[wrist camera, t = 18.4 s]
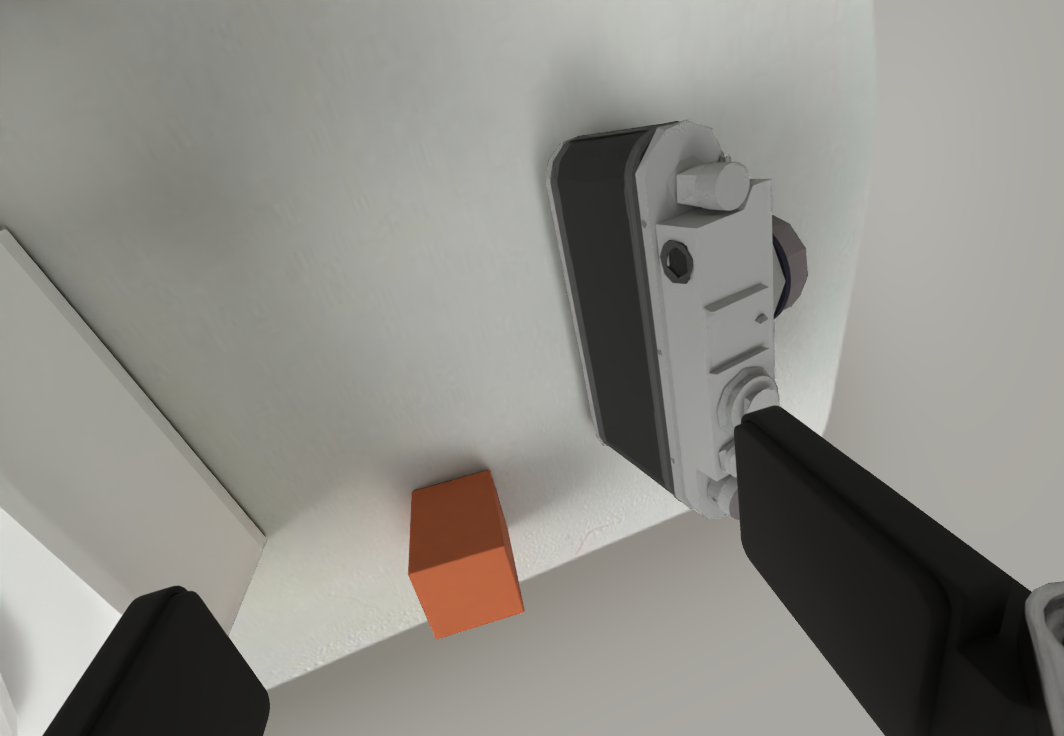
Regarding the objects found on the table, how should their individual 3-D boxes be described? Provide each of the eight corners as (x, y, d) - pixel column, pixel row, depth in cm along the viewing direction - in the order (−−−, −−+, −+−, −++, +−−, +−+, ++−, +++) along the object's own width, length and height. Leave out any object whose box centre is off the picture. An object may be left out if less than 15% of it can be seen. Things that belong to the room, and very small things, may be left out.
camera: (713, 391, 31) (882, 469, 22) (593, 451, 28) (735, 566, 20) (691, 104, 24) (921, 62, 16) (532, 147, 21) (707, 123, 13)
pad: (434, 550, 30) (435, 640, 24) (411, 491, 28) (407, 574, 23) (507, 528, 30) (524, 612, 25) (489, 468, 28) (504, 545, 23)
